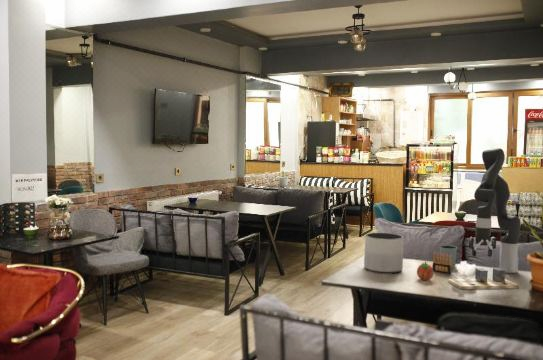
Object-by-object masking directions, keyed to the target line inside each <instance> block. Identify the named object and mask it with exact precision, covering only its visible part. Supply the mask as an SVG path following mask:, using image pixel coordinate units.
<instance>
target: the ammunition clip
mask: <svg viewBox="0 0 543 360" xmlns="http://www.w3.org/2000/svg"><path fill="white" fill-rule="evenodd" d="M431 267H432V269H433V273H438V274H446V275H452V268H451V253H450V255H449V261H448V253H447V254H446V260H445V253H443V259H442V252H441V253H440V251H437V252H436V251H434V252H433V258H432V266H431Z"/></svg>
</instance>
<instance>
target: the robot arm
mask: <svg viewBox="0 0 543 360" xmlns="http://www.w3.org/2000/svg"><path fill="white" fill-rule="evenodd" d="M481 158H482V162H483V166H484V168H485V170H486V171H485V172H484V174H483V175H482V178H481V180H480V181H481V182H480V184H479V186H478V187H477V188H476V189H475V191H474V195H473V197H474V200H475V201H477V202H478V203H479V202H480V203H487V204H486V205H482V206H478V207H477V209H476V220H475V221H476V222H475V237H472V236H469V240H468V248H469V249H471V256H472V257H474V258H477V249H478V248H479V247H480V246H481V247H482V246H484V247H487V257H490V258H491V257H492V256H493V250H495V249H497V238H496V237H494V236H492V237H491V234H492V211H493V208H494V207H493V206H495V211H496V218H497V224H498V228H499V229H501V230H503V231H507V233H508V234H507V235H504V236H500V244H499V263H498V264H499V265H498V268H501V269H503V270H505V274H516V273H518V272H519V256H518V248H519V247H518V245H519V238H520V233H521V232H520V231H521V219H520V217H518V216H516V215H510V214H508V211H507V204H508V202H509V200H510V197H511V192H510V189H509V188H510V187H509V184H508V182H507V181H506V180H505V179H504V178H503V177H502V176H500V175H499V173H500V172H501V170H502V167H503V165H504V163H505V159H506V158H505V152H504V150H503V149H502V148H492V149H483V151H482V153H481ZM490 242H491V243H490Z"/></svg>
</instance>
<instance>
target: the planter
mask: <svg viewBox="0 0 543 360" xmlns="http://www.w3.org/2000/svg"><path fill="white" fill-rule="evenodd" d="M364 238H365V239H364V240H365V241H364V255H363V256H364V260H363V267H364V268H365V269H366V270H367V271H369V272H373V273H377V274H378V273H379V274H397V273H399V272H401V271H402V270H403V266H404V265H403V263H404V262H403V261H404V236H402V235H401V234H398V233H397V234H396V233H390V232H369V233H366V234H365V236H364Z"/></svg>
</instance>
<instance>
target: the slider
mask: <svg viewBox="0 0 543 360" xmlns="http://www.w3.org/2000/svg"><path fill="white" fill-rule="evenodd" d="M474 272H475V274H474V276H475V277H474V279H476V280H478V281H480V282H485V283H488V282H487V279H488V270H487V269H485V268H481V267H480V268H475V271H474Z"/></svg>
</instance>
